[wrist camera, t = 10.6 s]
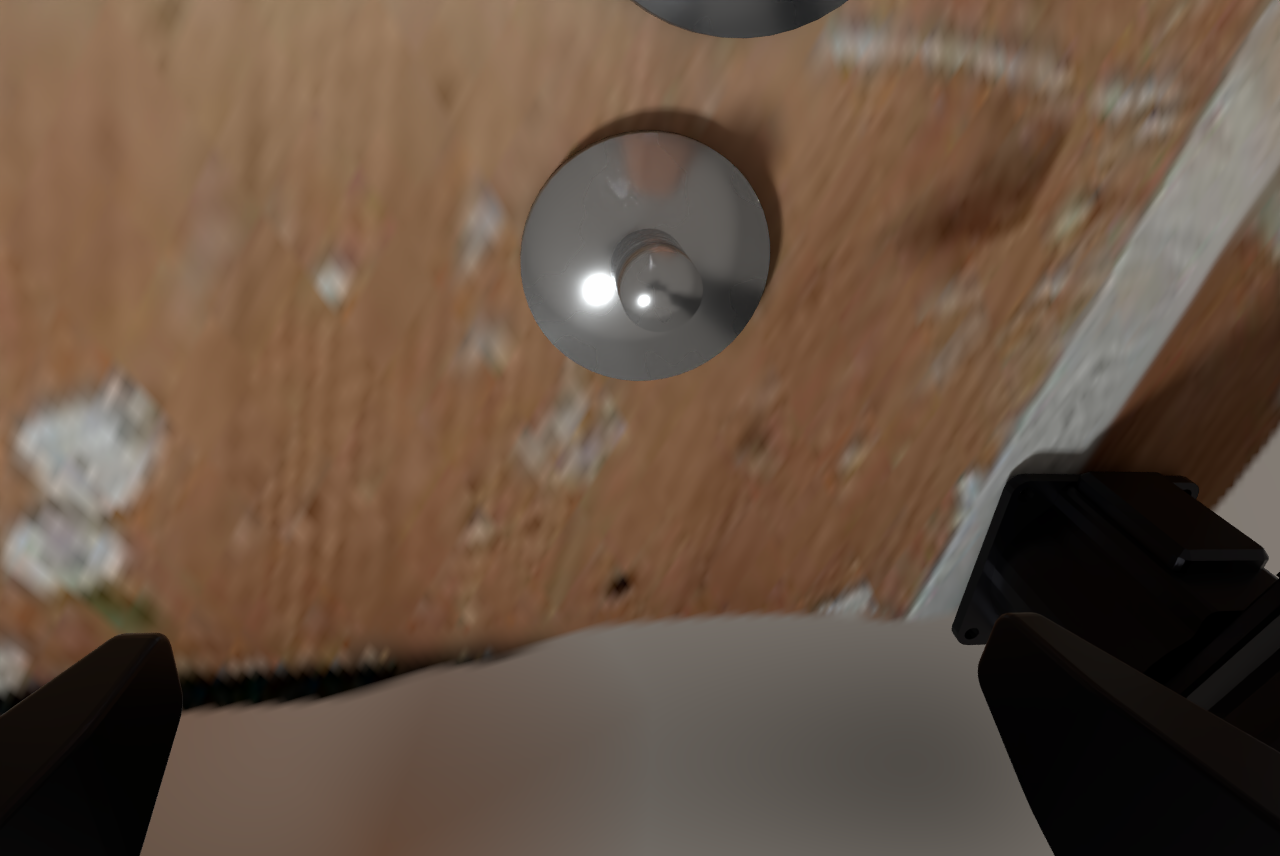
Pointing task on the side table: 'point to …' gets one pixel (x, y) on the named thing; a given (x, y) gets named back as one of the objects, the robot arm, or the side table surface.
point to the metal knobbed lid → (644, 255)
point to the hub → (738, 15)
